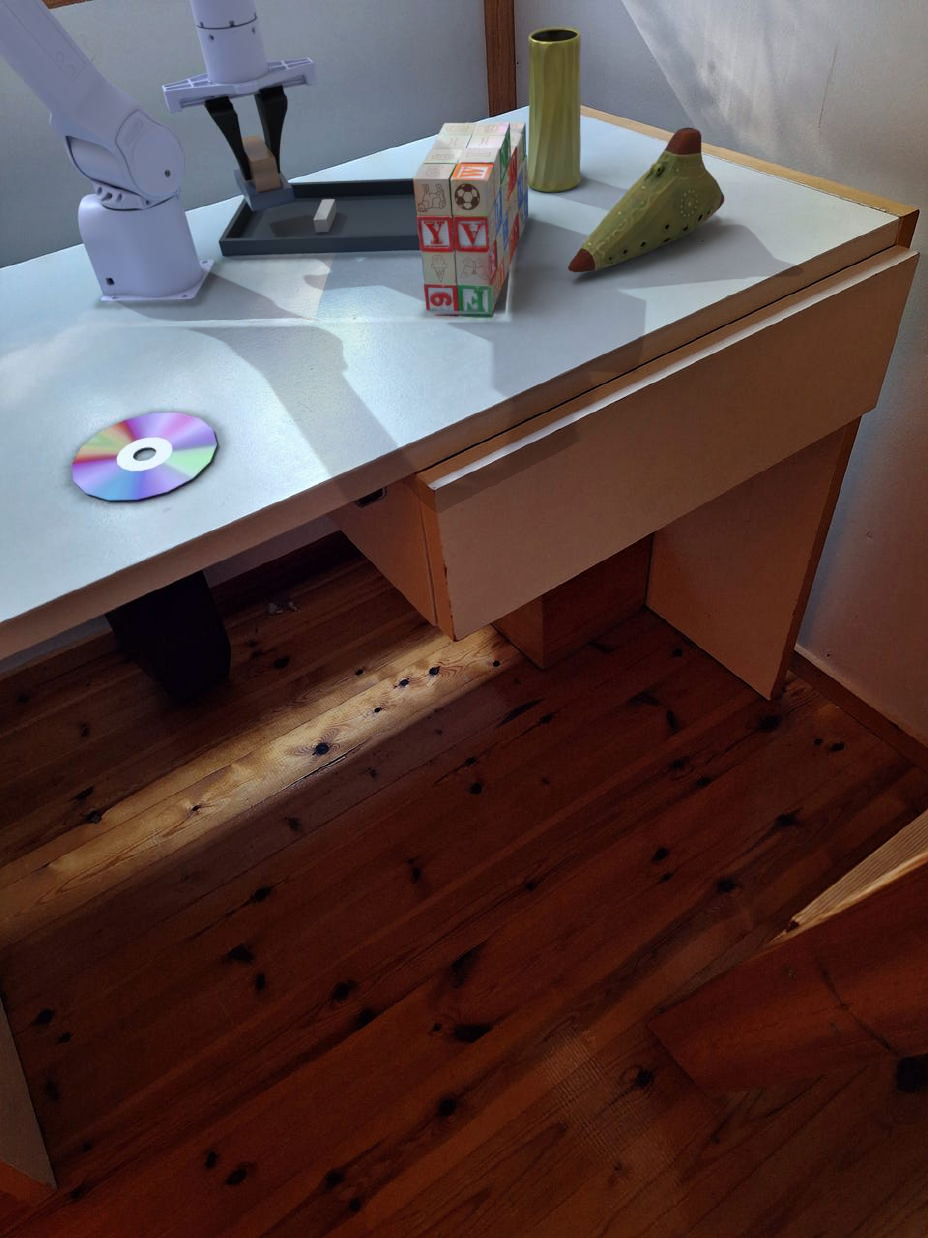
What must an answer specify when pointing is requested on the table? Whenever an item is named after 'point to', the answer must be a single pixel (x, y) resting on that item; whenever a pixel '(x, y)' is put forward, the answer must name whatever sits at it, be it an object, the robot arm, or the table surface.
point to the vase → (554, 109)
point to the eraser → (263, 177)
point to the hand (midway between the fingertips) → (260, 173)
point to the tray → (360, 225)
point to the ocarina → (655, 207)
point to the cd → (121, 477)
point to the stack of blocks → (471, 213)
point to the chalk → (325, 215)
